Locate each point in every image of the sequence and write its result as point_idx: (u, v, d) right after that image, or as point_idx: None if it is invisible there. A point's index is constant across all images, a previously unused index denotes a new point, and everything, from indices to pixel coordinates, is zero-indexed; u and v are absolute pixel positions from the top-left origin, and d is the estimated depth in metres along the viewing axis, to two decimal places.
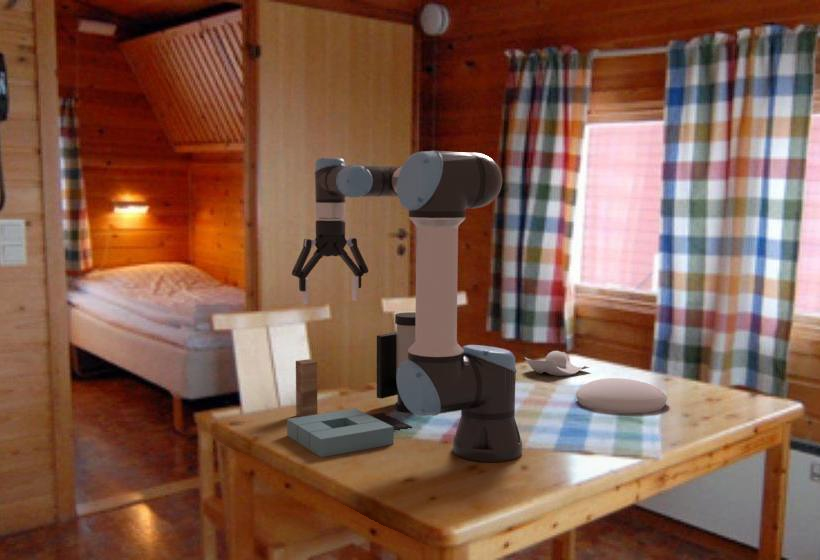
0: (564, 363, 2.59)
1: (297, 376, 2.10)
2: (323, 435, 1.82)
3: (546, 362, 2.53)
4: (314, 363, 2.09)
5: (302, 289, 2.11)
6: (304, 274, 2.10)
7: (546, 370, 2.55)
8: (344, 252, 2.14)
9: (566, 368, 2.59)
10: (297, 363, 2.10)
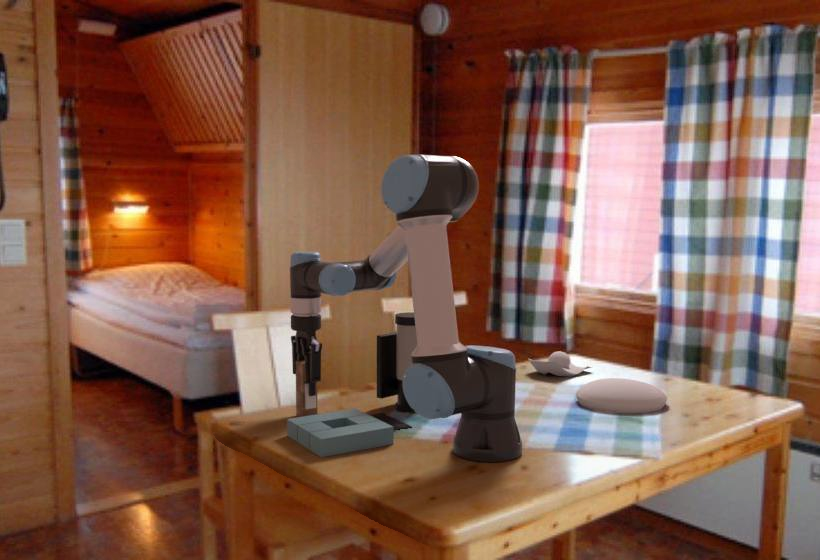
0: (568, 363, 2.58)
1: (297, 376, 2.10)
2: (323, 435, 1.82)
3: (551, 363, 2.52)
4: None
5: None
6: None
7: (551, 371, 2.54)
8: (303, 351, 2.07)
9: (569, 368, 2.59)
10: (297, 363, 2.10)
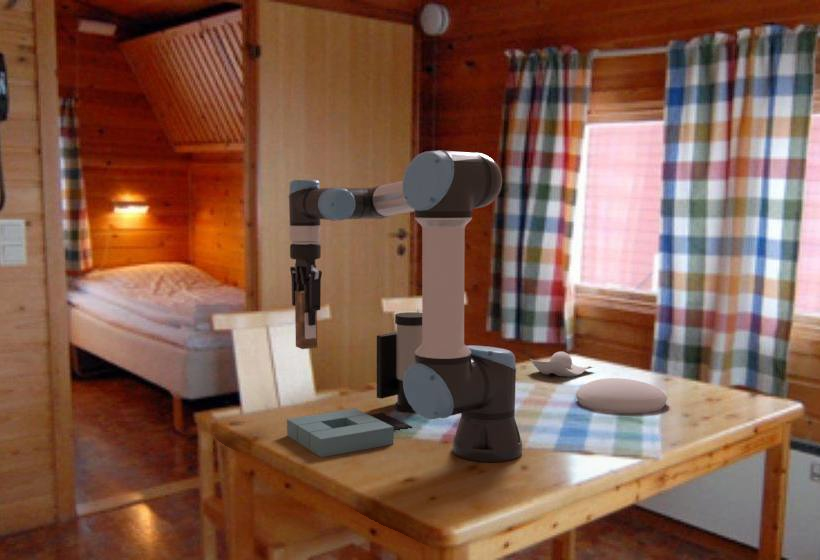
0: (570, 364, 2.58)
1: (296, 306, 2.08)
2: (323, 435, 1.82)
3: (555, 363, 2.51)
4: None
5: None
6: None
7: (554, 371, 2.54)
8: (302, 280, 2.05)
9: (572, 369, 2.58)
10: (296, 293, 2.08)
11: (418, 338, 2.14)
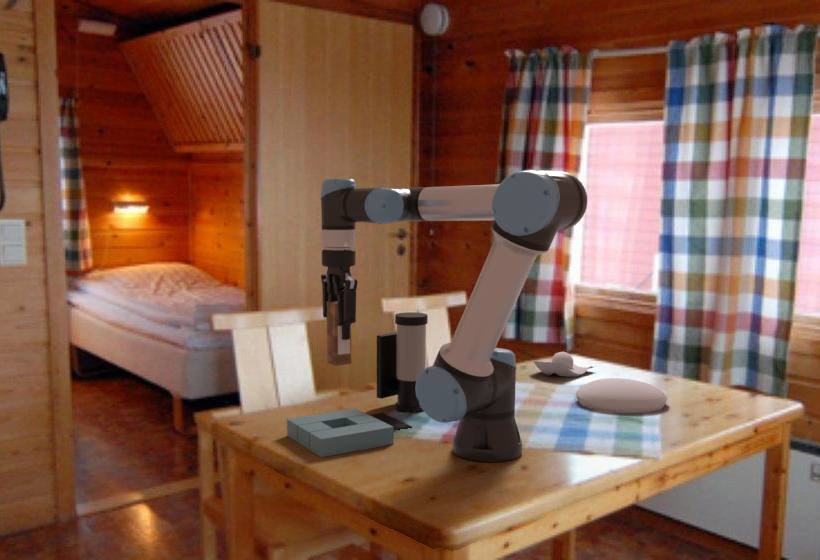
0: (572, 364, 2.58)
1: (328, 318, 1.89)
2: (323, 435, 1.82)
3: (558, 364, 2.51)
4: None
5: None
6: None
7: (556, 372, 2.53)
8: (335, 290, 1.86)
9: (573, 369, 2.58)
10: (328, 304, 1.88)
11: (418, 338, 2.14)
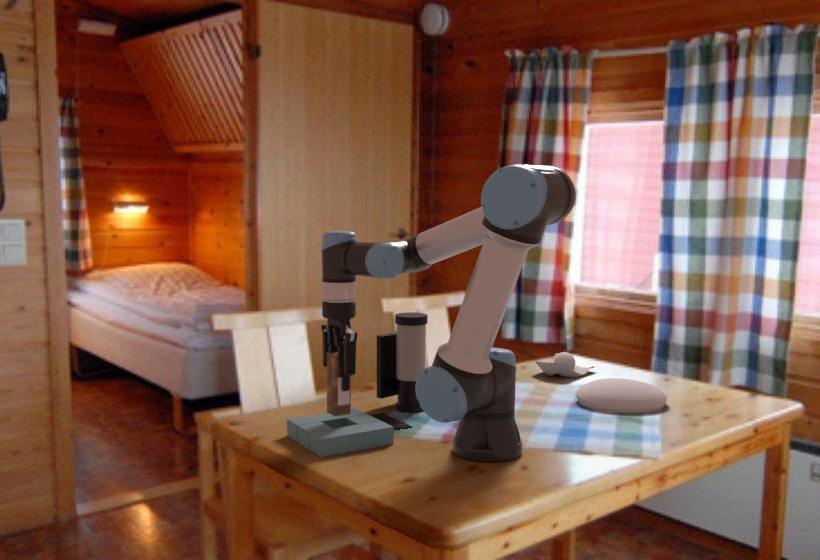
0: (574, 364, 2.58)
1: (328, 369, 1.90)
2: (323, 435, 1.82)
3: (561, 364, 2.50)
4: None
5: None
6: None
7: (559, 372, 2.53)
8: (336, 341, 1.87)
9: (576, 369, 2.58)
10: (328, 354, 1.90)
11: (418, 338, 2.14)
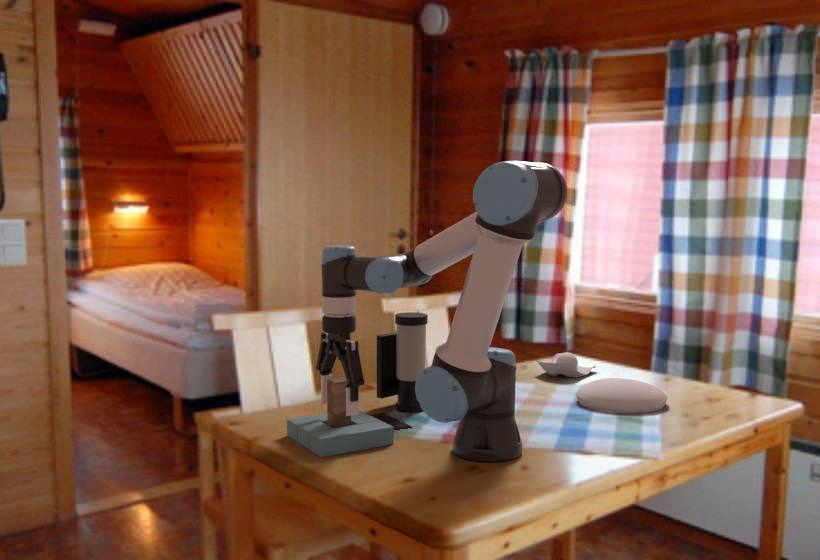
0: (576, 364, 2.57)
1: (329, 396, 1.91)
2: (323, 435, 1.82)
3: (566, 364, 2.50)
4: None
5: None
6: (320, 370, 1.96)
7: (563, 372, 2.52)
8: (338, 354, 1.86)
9: (578, 369, 2.58)
10: (329, 382, 1.90)
11: (418, 338, 2.14)
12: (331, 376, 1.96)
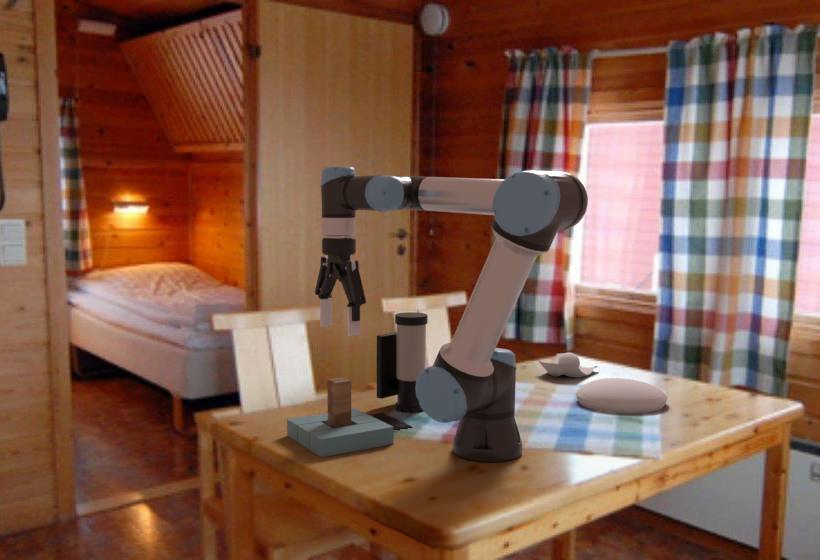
0: (579, 364, 2.57)
1: (329, 396, 1.91)
2: (323, 435, 1.82)
3: (569, 365, 2.49)
4: (348, 382, 1.90)
5: None
6: (319, 293, 1.94)
7: (566, 373, 2.52)
8: (338, 275, 1.84)
9: (580, 369, 2.58)
10: (329, 382, 1.90)
11: (418, 338, 2.14)
12: (330, 300, 1.94)
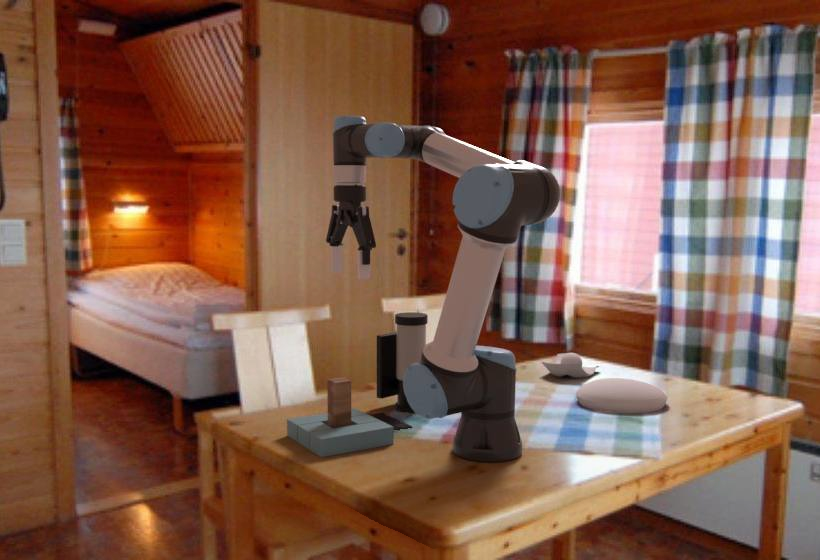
0: (581, 364, 2.57)
1: (329, 396, 1.91)
2: (323, 435, 1.82)
3: (574, 365, 2.49)
4: (348, 382, 1.90)
5: None
6: (330, 241, 2.01)
7: (570, 373, 2.52)
8: (349, 221, 1.91)
9: (583, 369, 2.58)
10: (329, 382, 1.90)
11: (418, 338, 2.14)
12: (341, 247, 2.01)
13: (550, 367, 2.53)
